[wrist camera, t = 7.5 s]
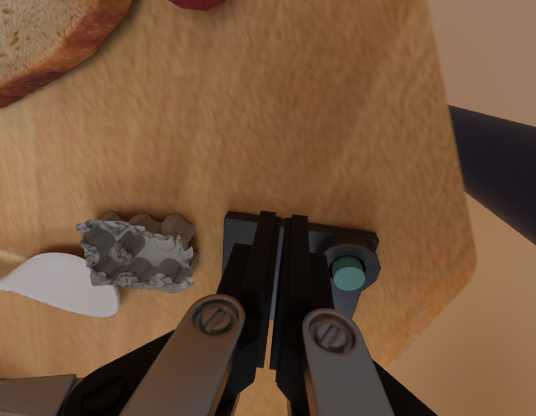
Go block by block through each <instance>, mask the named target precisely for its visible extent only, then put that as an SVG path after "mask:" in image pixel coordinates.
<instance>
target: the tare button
mask: <svg viewBox="0 0 536 416" xmlns="http://www.w3.org/2000/svg"><path fill="white" fill-rule="evenodd" d="M332 273H333V280H334V283H335V285H336V286H337V287H338V288H340V289H342V290H346V291H351V290H356V289H358V288H360V287H361V286H362V285H363V284H364V282H365V274H364V271H363V268H362V265H361V262H360V261H359V260H358V259H357V258H355V257H352V256H343V257H340V258H338V259H336V260H335V261H334V263H333V265H332Z"/></svg>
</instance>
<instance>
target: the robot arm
mask: <svg viewBox="0 0 536 416" xmlns="http://www.w3.org/2000/svg"><path fill="white" fill-rule="evenodd" d="M280 224H281V217H277V216H276V212H268V211H261V213H260V217H259V221H258V225H257V228H256V232H255V236H254V240H253V244H252V245H248V244H240V243H235V244H234V246H233V248H232V251H231V254H230V257H229V259H228V262H227V265H226V268H225V270H224V273H223V276H222V279H221V282H220V284H219V287H218V290H217V293H216V294H212V295H208V296H205V297H202V298H200V299H199V300H197V301H196V302H194V304H193V305H192V306H191V307H190V308H189V309H188V311H187V313H186V314H185V316H184V317H183V319H182V320H181V322H180V323H179V325H178V326H177V328H176V329H175V330H173V331H171V332H169V333H167V334H165V335H163V336H161V337H159V338H157V339H155V340H153V341H151V342H149V343H147V344H145V345H143V346H142V347H140V348H138V349H136V350H134V351H132V352H130V353H128V354H126V355H124V356H122V357H120V358H118V359H116V360H114V361H112V362H110V363H108V364H106V365H104V366H102V367H100V368H99V369H97V370H95V371H94V372H92V373H91V374H89V375H87V376H86V377H85V378H77V376H76V374H67V375H55V376H44V377H32V378H20V379H8V380H0V416H234V414H235V411H236V407H237V404H238V401H239V397H240V392H241V391H243V390H244V389H245V388H246V387H248V386H249V385H250V384H252V383H253V382H254V379H255V373H256V367H259V368H264V360H265V352H266V344H267V336H268V328H269V320H270V312H271V304H272V296H273V287H274V278H275V269H276V260H277V251H278V242H279V233H280ZM269 369H272V370H276V380H275V382H276V383H277V386H278V387H279V389H280V390H281V391H282V393H283V394H284V395H285V396H286V398H287V413H288V416H437V415H436V414H435V413H434V412H433V411H431V410H430V409H429V408H428V407H427V406H426V405H425V404H424V403H422V402H421V401H420V400H419V399H418V398H417V397H416V396H414V395H413V394H412V393H411V392H409V390H407V389H406V388H405V387H404V386H403V385H402V384H401V383H399V382H398V381H397V380H396V379H395V378H394V377H392V376H391V375H390V374H389V373H388V372H387V371H385V370H384V369H383V368H382V367H381V366H380V365H379V364H377V363H376V362H375V361H374V360H373V359H372V358H371V356H370V353H369V351H368V348H367V346H366V344H365V341H364V339H363V336H362V334H361V331H360V330H359V328H358V326H357V325H356V323H355V322H354V321H353V320H352V319H351V318H350V317H348V316H347V315H345V314H343V313H342V312H339V311H337V310H335V307H334V301H333V294H332V287H331V281H330V274H329V268H328V261H327V256H326V254H320V253H312V252H310V250H309V234H308V218H307V216H301V215H293V214H292V218H286V221H285V228H284V236H283V243H282V251H281V259H280V266H279V274H278V282H277V293H276V303H275V314H274V324H273V335H272V346H271V356H270V367H269Z"/></svg>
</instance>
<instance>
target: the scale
mask: <svg viewBox="0 0 536 416" xmlns="http://www.w3.org/2000/svg"><path fill="white" fill-rule="evenodd" d="M259 217H260V216H258V215H251V214H244V213H237V212H230V211H228V212H227V214H226V216H225V218H224V240H223V265H222V276H223V273H224V270H225V268H226V265H227V262H228V259H229V257H230V254H231V251H232V248H233V246H234V244H235V243H240V244H248V245H252V244H253V240H254V236H255V232H256V228H257V225H258V221H259ZM285 221H286V220H285V219H281V224H280V233H279V242H278V251H277V260H276V269H275V278H274V287H273V296H272V304H271V312H270V320H274V314H275V303H276V293H277V282H278V274H279V266H280V259H281V251H282V243H283V236H284V228H285ZM308 234H309V250H310V252H312V253H320V254H326V256H327V261H328V268H329V274H330V281H331V287H332V294H333V301H334V307H335V310H337V311H339V312H342V313H343V314H345V315H347V316H348V317H350V318H351V319H352V317H353V314H354V311H355V308H356V305H357V302H358V299H359V297H360V294H361V291H363V290H365V289H366V288H368V287H369V286H370V285H371V284H373V283H374V282H375V281H376V280H377V277H378V274H379V272H380V269H381V266H380V263H379V260H378V257H377V255H376V252H375V251H376V248H377V245H378V242H379V239H378V237H377V235H376V233H374V232H367V231H361V230H354V229H347V228H340V227H333V226H326V225H319V224H312V223H308ZM343 256H352V257H355V258H357V259H358V260H359V261H360V262H361V265H362V268H363V271H364V274H365V282H364V284H363V285H362V286H361V287H360V288H358V289H356V290H351V291H346V290H342V289H340V288H338V287H337V286H336V285H335V283H334V280H333V273H332V265H333V263H334V261H335V260H336V259H338V258H340V257H343Z"/></svg>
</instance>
